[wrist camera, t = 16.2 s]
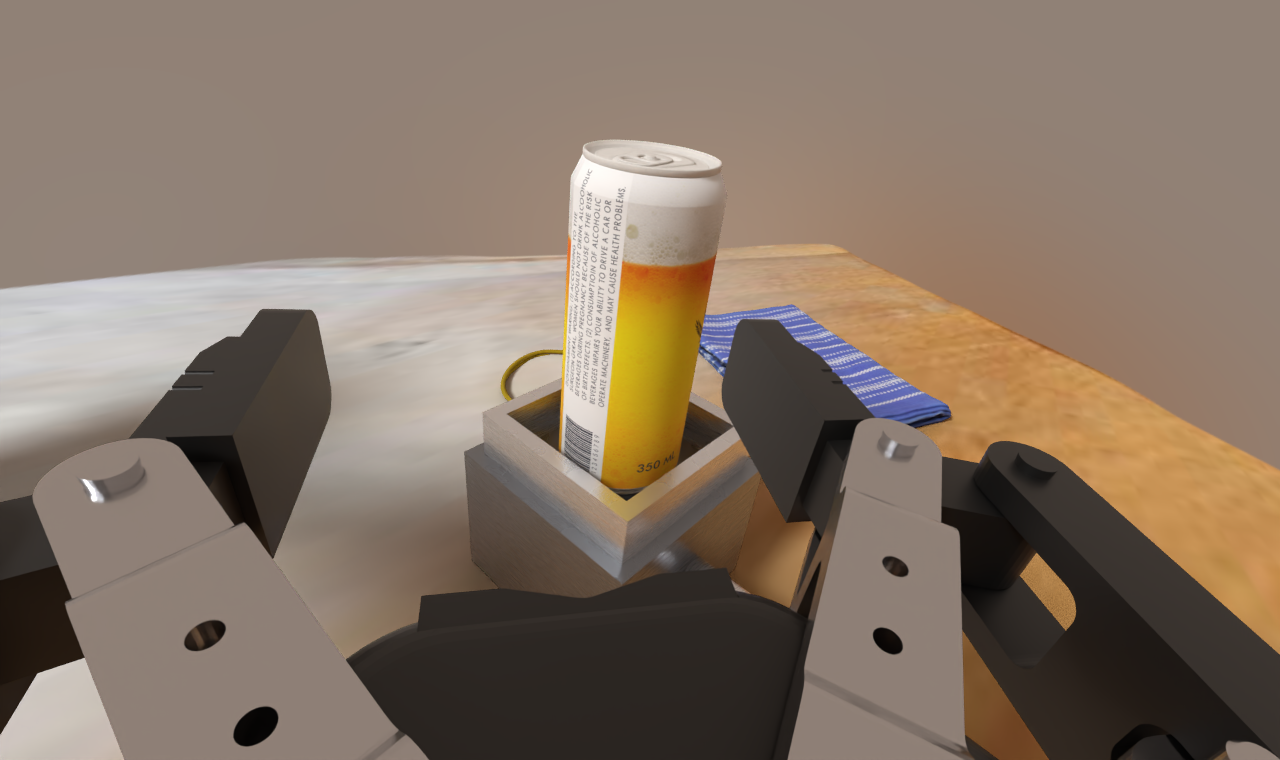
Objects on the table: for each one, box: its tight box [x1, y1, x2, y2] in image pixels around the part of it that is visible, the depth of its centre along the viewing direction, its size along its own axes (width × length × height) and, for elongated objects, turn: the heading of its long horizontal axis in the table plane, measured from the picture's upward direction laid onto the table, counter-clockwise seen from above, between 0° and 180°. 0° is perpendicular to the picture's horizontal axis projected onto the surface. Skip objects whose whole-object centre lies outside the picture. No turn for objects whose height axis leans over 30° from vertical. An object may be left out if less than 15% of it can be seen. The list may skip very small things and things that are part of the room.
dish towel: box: [698, 304, 951, 428], centre depth 56 cm, size 17×24×3 cm
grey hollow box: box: [464, 378, 761, 598], centre depth 30 cm, size 15×11×10 cm
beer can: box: [559, 140, 727, 494], centre depth 26 cm, size 6×6×15 cm
